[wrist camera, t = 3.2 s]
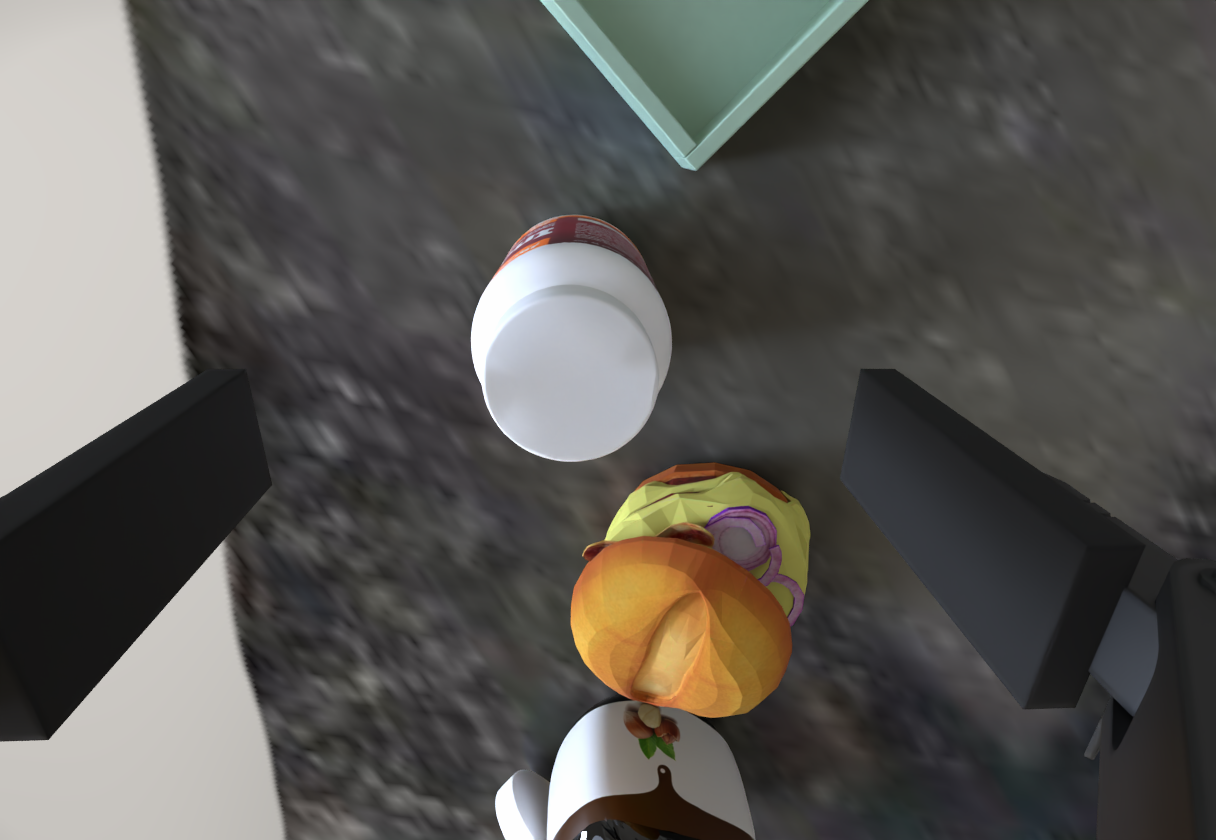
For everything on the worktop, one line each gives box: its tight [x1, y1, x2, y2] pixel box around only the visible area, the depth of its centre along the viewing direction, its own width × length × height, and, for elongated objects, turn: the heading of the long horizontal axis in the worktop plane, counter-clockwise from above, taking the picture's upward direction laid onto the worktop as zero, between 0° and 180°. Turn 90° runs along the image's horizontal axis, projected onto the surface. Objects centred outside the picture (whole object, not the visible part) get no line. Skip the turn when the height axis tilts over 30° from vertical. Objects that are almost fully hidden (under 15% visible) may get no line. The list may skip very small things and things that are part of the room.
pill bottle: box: [471, 215, 672, 462], centre depth 21 cm, size 6×6×11 cm
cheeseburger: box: [571, 462, 810, 718], centre depth 28 cm, size 10×11×10 cm
